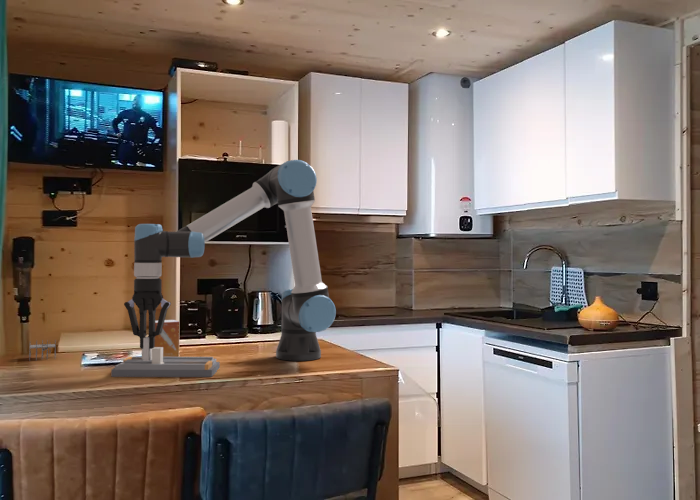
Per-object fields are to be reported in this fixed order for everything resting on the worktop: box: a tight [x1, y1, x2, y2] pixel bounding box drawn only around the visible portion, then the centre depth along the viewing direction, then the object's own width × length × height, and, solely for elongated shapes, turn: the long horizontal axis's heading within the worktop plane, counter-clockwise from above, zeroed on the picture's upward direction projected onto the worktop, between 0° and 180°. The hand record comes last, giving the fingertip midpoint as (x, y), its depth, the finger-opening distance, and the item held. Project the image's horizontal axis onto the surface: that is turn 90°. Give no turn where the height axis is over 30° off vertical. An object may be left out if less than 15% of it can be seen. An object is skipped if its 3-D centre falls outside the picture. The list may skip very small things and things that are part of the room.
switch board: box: [110, 356, 221, 378], centre depth 182 cm, size 28×13×4 cm, turn 92°
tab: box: [152, 347, 164, 364], centre depth 178 cm, size 3×3×5 cm
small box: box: [155, 319, 180, 357], centre depth 200 cm, size 8×6×13 cm
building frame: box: [28, 339, 57, 362], centre depth 202 cm, size 6×8×6 cm
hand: (147, 359), depth 178 cm, fingers closed
